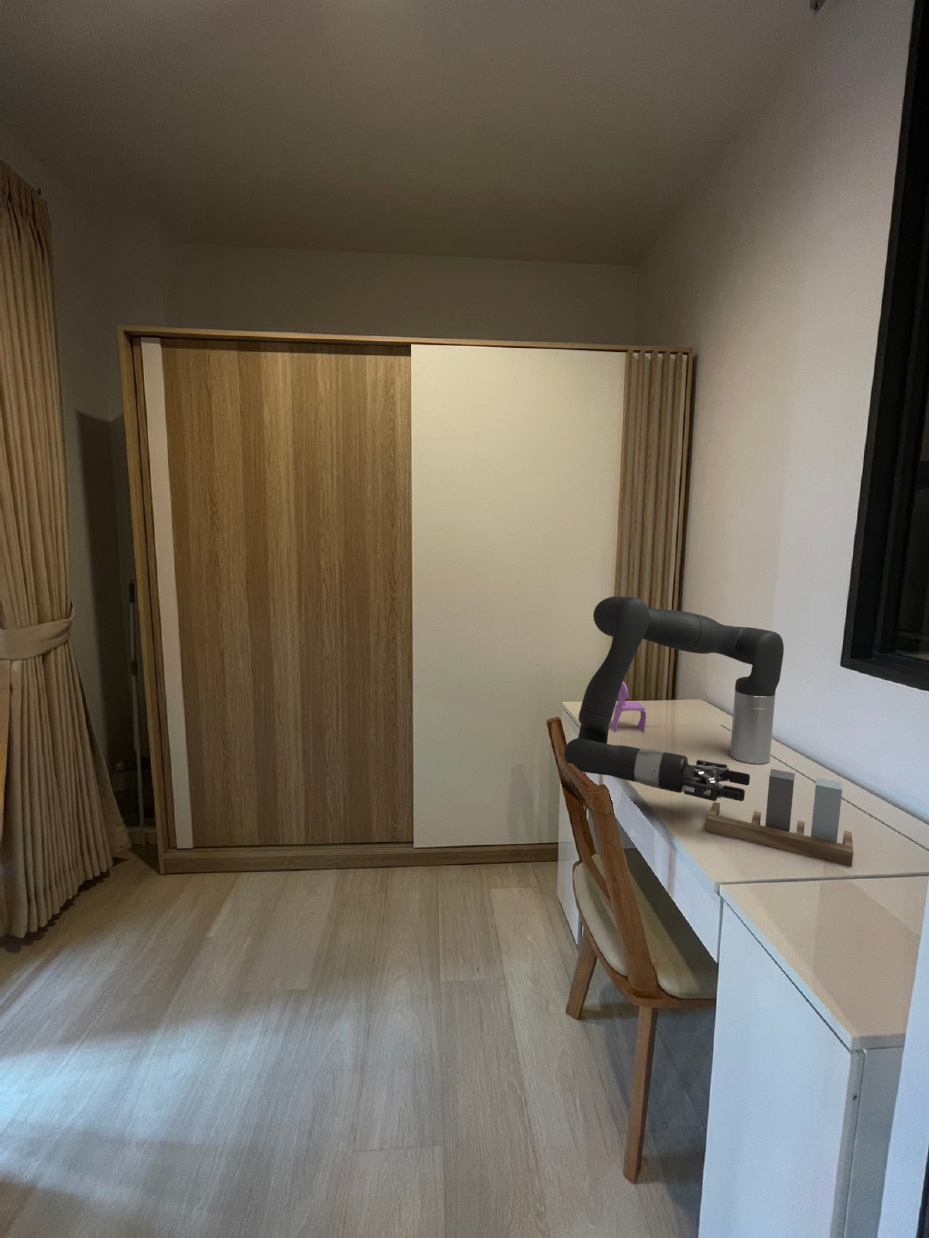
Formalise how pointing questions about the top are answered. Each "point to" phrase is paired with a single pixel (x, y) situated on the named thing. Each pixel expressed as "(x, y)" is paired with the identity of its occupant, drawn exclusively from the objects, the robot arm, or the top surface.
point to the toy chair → (627, 709)
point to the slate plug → (826, 809)
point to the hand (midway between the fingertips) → (747, 787)
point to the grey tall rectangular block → (779, 800)
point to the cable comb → (781, 837)
